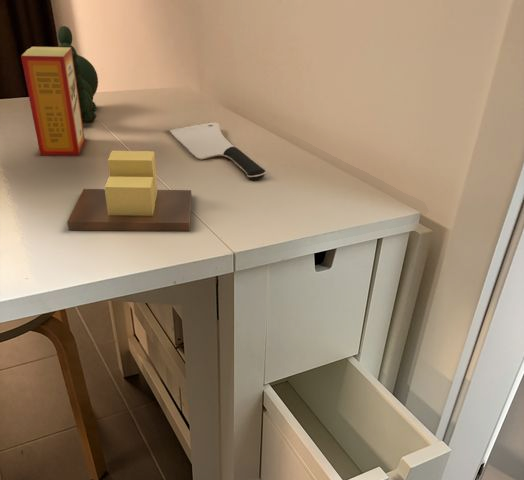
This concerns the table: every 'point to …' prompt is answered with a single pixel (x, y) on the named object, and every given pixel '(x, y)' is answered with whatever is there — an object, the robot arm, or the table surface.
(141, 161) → the base
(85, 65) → the toy figurine
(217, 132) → the kitchen cleaver
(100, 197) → the butter board
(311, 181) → the table surface
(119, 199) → the block
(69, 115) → the baking soda box
